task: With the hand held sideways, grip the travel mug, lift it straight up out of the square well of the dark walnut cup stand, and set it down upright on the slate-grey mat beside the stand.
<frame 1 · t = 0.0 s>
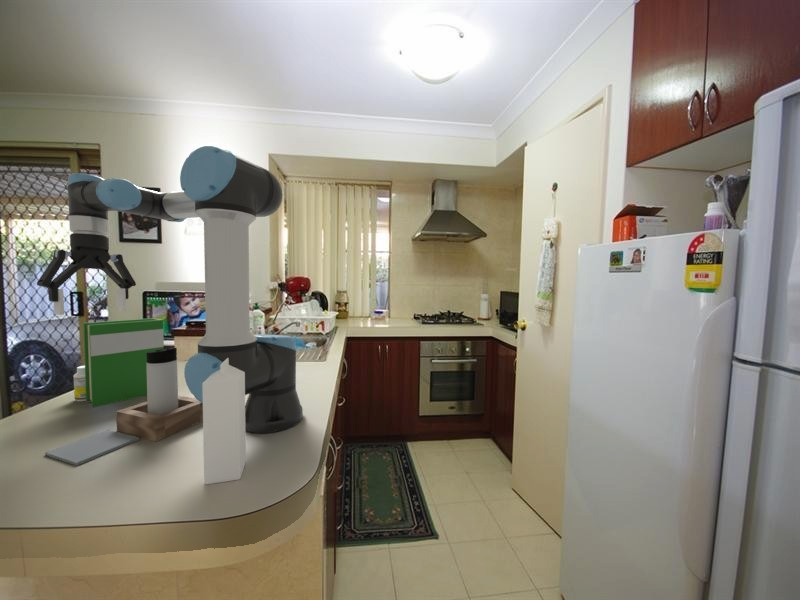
hand: (92, 312, 86), 28 cm above the counter, tool pointing down, fingers open, 13 cm apart
travel mug: (164, 425, 81), resting in cup stand
cup stand: (164, 424, 81), on the counter
hardback book: (127, 396, 101), on the counter
slate mat: (93, 447, 70), on the counter
supplement bottle: (87, 399, 98), on the counter
milk: (226, 473, 61), on the counter
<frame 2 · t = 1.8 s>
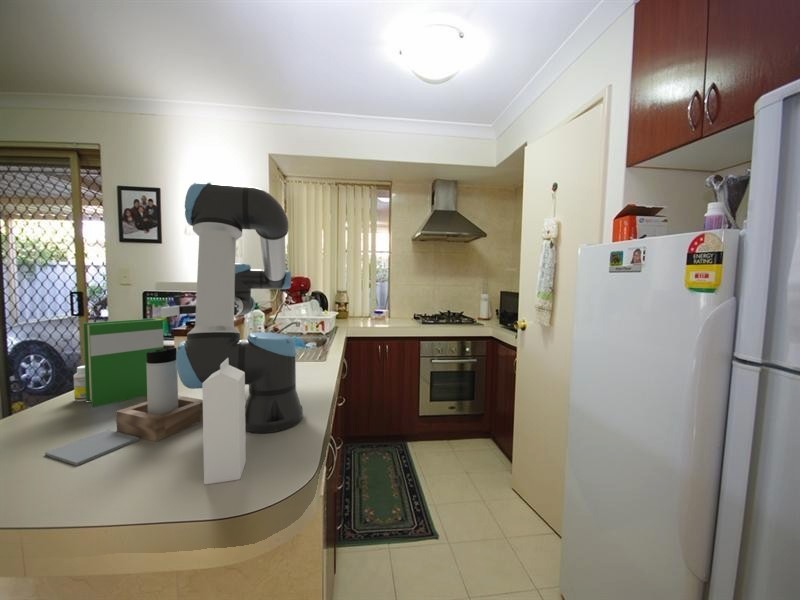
hand: (186, 312, 89), 28 cm above the counter, tool horizontal, fingers open, 13 cm apart
nothing on the counter moved.
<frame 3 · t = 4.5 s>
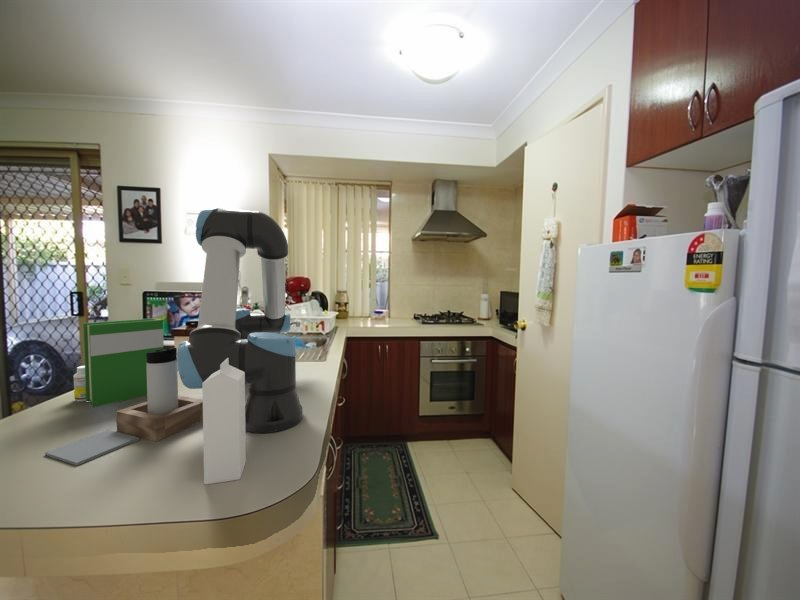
hand: (185, 373, 89), 11 cm above the counter, tool horizontal, fingers open, 13 cm apart
nothing on the counter moved.
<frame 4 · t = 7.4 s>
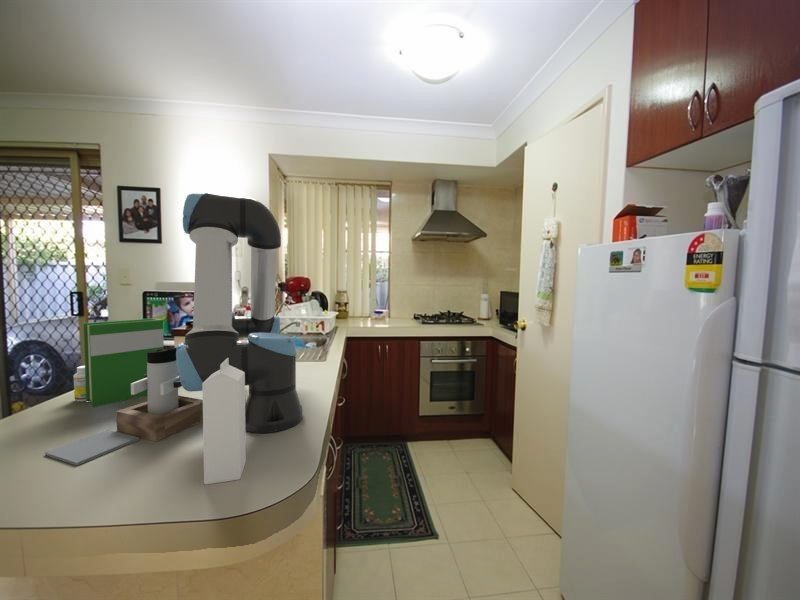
hand: (147, 389, 75), 11 cm above the counter, tool horizontal, fingers closed on travel mug, 6 cm apart
travel mug: (164, 425, 81), resting in cup stand, touching gripper
everything else where it was.
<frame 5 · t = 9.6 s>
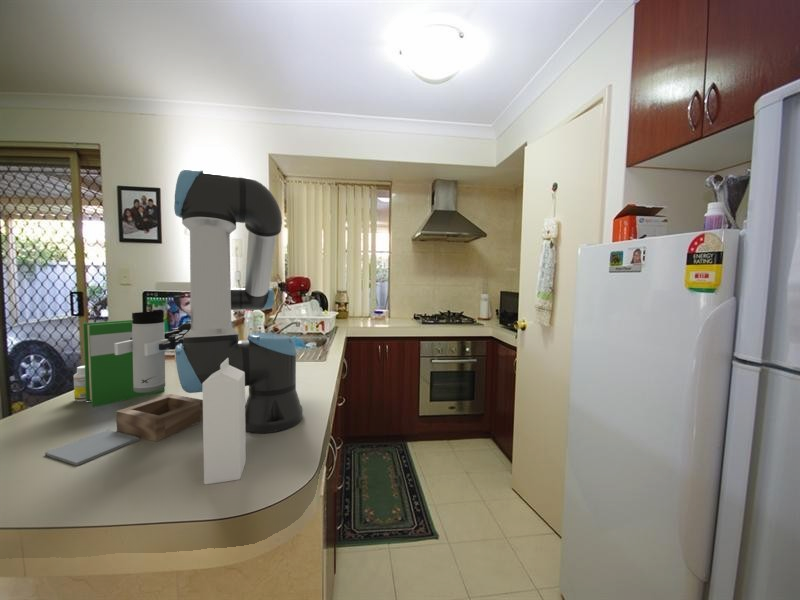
hand: (131, 349, 73), 21 cm above the counter, tool horizontal, fingers closed on travel mug, 6 cm apart
travel mug: (150, 389, 79), point 10 cm above the counter, touching gripper
everything else where it was.
when the fingers open (13 cm above the counter, at t = 12.3 s): travel mug drops 1 cm, resting on slate mat.
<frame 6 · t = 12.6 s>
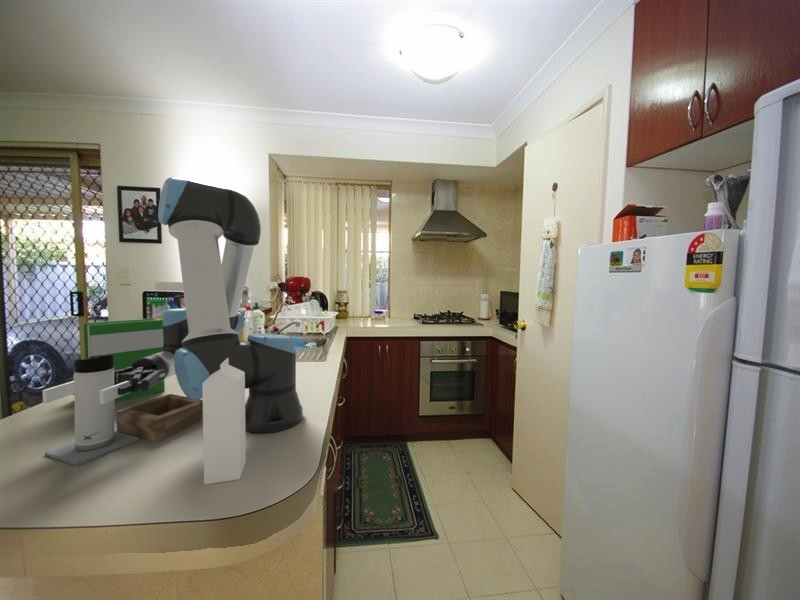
hand: (73, 396, 65), 13 cm above the counter, tool horizontal, fingers open, 11 cm apart
travel mug: (95, 445, 70), resting on slate mat
everything else where it was.
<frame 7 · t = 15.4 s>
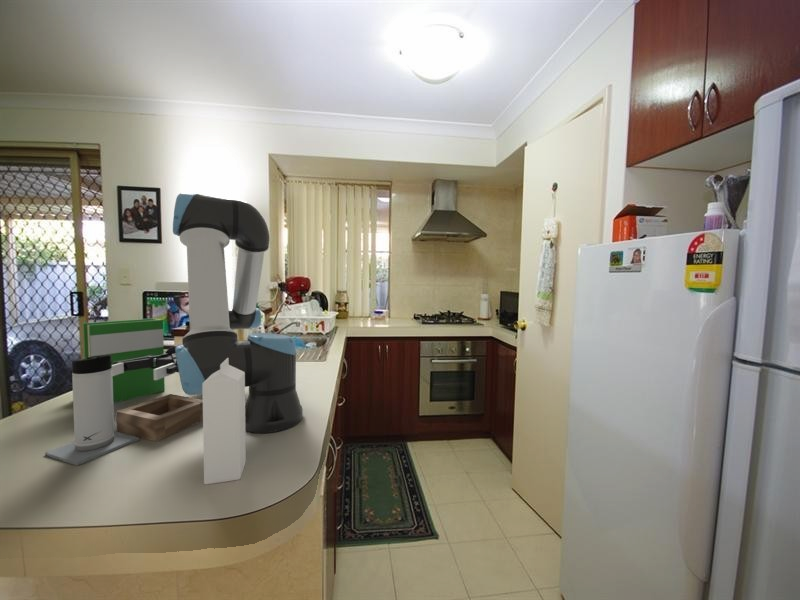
hand: (127, 374, 78), 14 cm above the counter, tool horizontal, fingers open, 13 cm apart
nothing on the counter moved.
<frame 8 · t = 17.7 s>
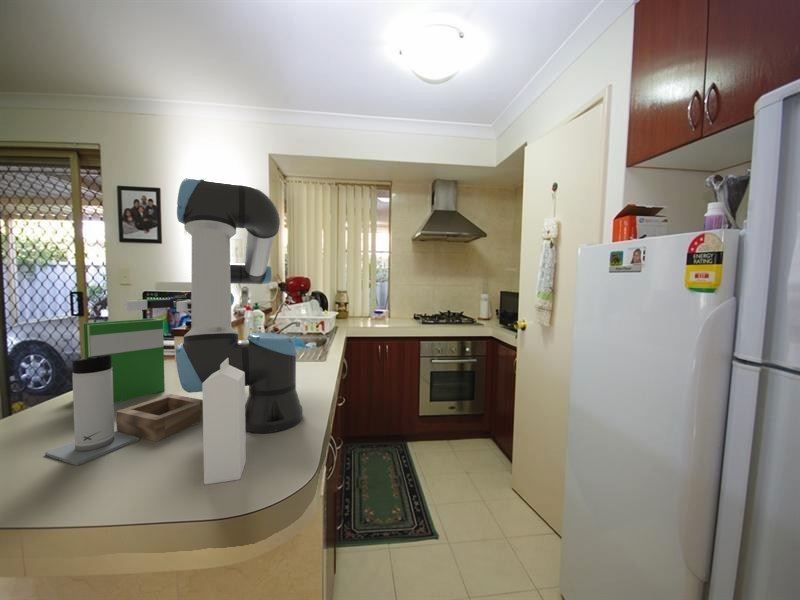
hand: (152, 306, 85), 30 cm above the counter, tool horizontal, fingers open, 13 cm apart
nothing on the counter moved.
at the end: travel mug inside the target area on the slate mat (0.4 cm from its centre), point 0.4 cm above the slate mat's base; travel mug tilted 0°; the gripper is holding nothing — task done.
